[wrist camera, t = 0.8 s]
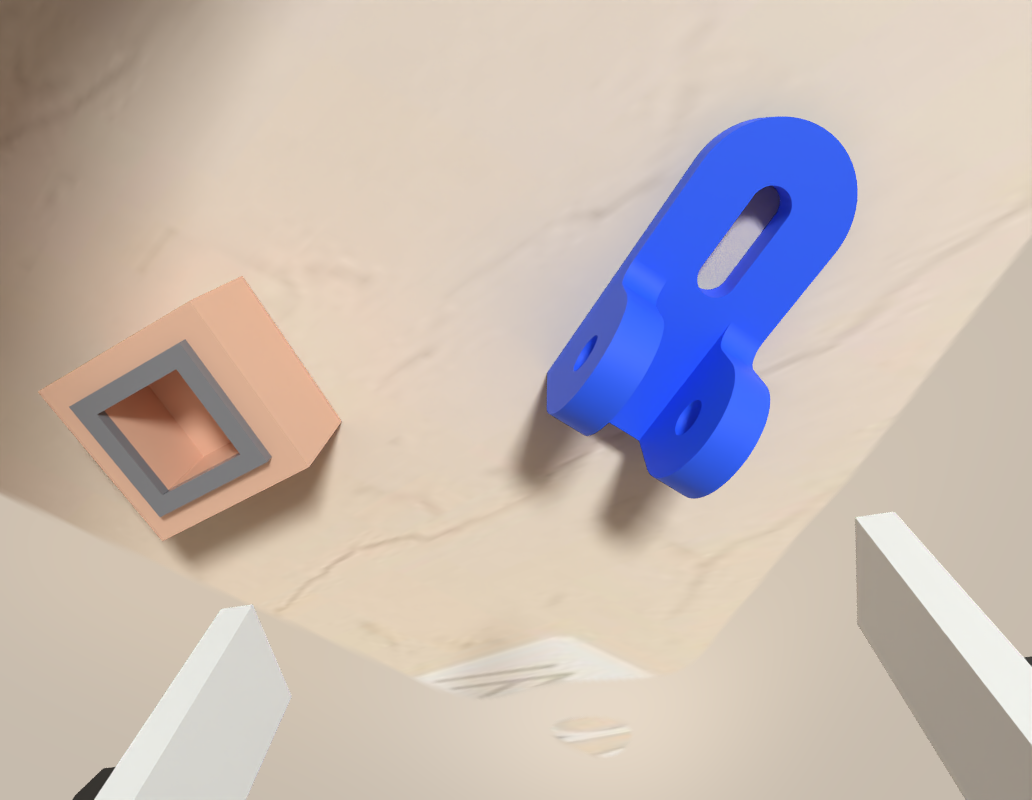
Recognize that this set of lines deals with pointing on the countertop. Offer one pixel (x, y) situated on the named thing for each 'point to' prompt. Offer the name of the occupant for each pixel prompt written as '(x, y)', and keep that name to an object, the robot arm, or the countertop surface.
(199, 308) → the peach square socket block
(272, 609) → the countertop surface
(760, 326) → the bracket
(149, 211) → the countertop surface
